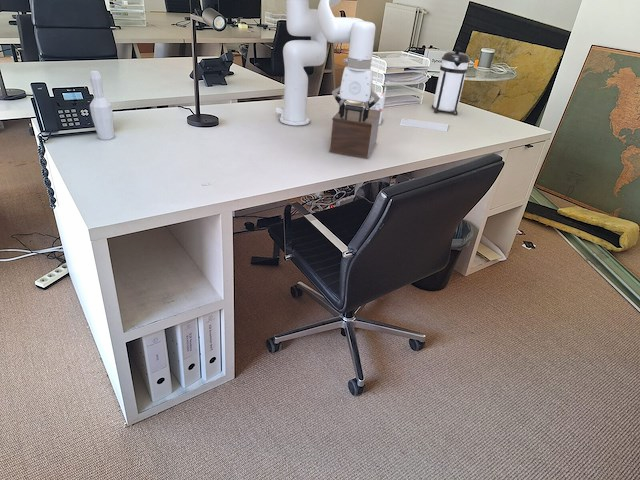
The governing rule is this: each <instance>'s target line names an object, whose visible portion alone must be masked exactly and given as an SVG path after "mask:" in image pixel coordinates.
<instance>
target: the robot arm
mask: <svg viewBox="0 0 640 480" xmlns="http://www.w3.org/2000/svg"><path fill="white" fill-rule="evenodd" d="M341 2H342V0H319V3H318V6H317V8H316V9H315V8H310V0H286V1H285V7H286V8H285V10H286V11H285V16H286V17H285V18H286V30H287V33H288V34H289V35H291V36H293V37H310V39H307V40H306V39H294V40H290V41H287V42H286V43H285V44H284V45H283V49H282V57H283V65H284V85H283V88H284V89H283V90H284V91H283V108H282V107H276V110H275V113H276V114H278V115H280V116H279V122H280V123H282V124H284V125H288V126H297V127H298V126H306V125H308V124H309V123H310V118H309V117H308V116H307V108H308V107H307V106H308V91H309V90H308V89H309V77H308V73H307V72H306V71H305V69H304V68H305V67H318V66H322V65H324V63H325V62H326V59H327V49H328V47H327V46H328V43H330V44H349V47H348V56H347V57H345V58H343V60H342V61H343V63H345V64H346V66H345V67H344V69H343V72H342V77H341V81H340V86H338V87H337V88H335V89H333V90H332V91H331V94H332V96H333V97H334V99H335V101H336V103H337V104H338V112H339V114H340V118H342V117H343V116H344V111H345V105H346V103H345V102H346V101H350V102H351V101H352V102H358V103H362V104H363V105H364V106H363V107H364V108H365V109H364V112H363V120H362V121H365V120H366V119H368V114H369V109H372V106H374V105H375V104H376V103H377V102H378V101H379V99H380V97H379V96H378V95H377V94H376V93H375V92H376V91H374V89H373V78H374V77H373V69H372V68H371V67H372V61H373V59H372V58H373V53H374V46H375V45H374V44H375V36H376V30H377V29H376V28H377V27H376V25H375V23H374V22H371V21H366V20H363V19H362V18H358V17H348V16H347V17H346V16H345V17H343V16H335V15H334V14H333V11H332V9H331V8H333V7H335V6H337V5H338V4H339V3H341ZM371 98H372V101H371V102H370V100H371ZM373 98H374V100H373Z"/></svg>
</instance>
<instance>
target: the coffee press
mask: <svg viewBox="0 0 640 480" xmlns="http://www.w3.org/2000/svg"><path fill="white" fill-rule="evenodd" d="M460 51H461V46H456V47H455V51H446V52H445V53H444V54H443V56H441V64H440V67H439V74H438V80H437V83H436V89H435V93H434V97H433V98H434V99H433V103H432V105H431V108H432V109H434V110H433V113H435V114H438V113H439V112H440V111H442V112H451V113H452V116H457V115H458V108H459V104H460V100H461V96H462V92H463V87H464V83H465V79H466V74H467V72H468V66H469V63H470V62H471V60H470V56H469V55H468V54H467V53H464V52H460Z"/></svg>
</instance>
